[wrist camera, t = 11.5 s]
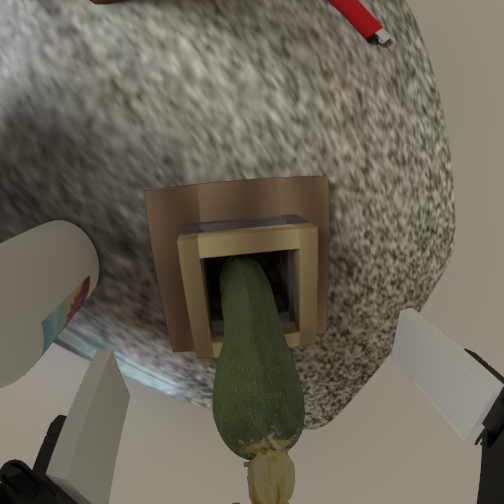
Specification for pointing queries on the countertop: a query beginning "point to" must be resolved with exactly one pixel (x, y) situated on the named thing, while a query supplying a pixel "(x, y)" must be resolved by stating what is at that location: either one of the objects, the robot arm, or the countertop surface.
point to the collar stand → (240, 252)
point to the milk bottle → (41, 291)
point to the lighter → (361, 20)
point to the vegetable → (257, 383)
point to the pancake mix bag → (103, 1)
